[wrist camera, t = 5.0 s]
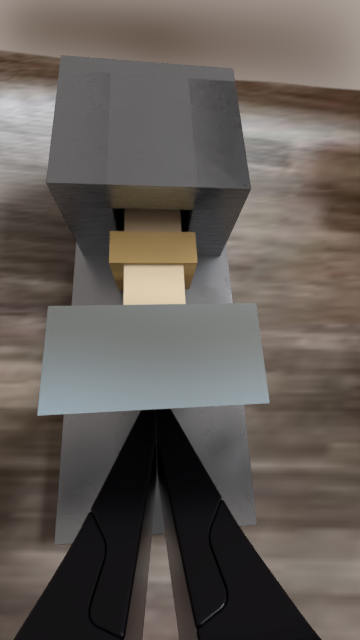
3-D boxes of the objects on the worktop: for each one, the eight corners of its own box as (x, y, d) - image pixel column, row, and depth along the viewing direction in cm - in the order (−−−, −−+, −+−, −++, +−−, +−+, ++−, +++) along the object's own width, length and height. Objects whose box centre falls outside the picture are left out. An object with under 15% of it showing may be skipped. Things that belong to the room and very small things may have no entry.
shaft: (201, 399, 15) (270, 403, 6) (110, 404, 14) (37, 415, 5) (186, 178, 19) (213, -11, 10) (116, 175, 18) (80, -25, 10)
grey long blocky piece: (250, 515, 14) (332, 618, 8) (61, 534, 13) (-32, 670, 7) (213, 168, 21) (240, 62, 14) (86, 163, 20) (51, 47, 13)
